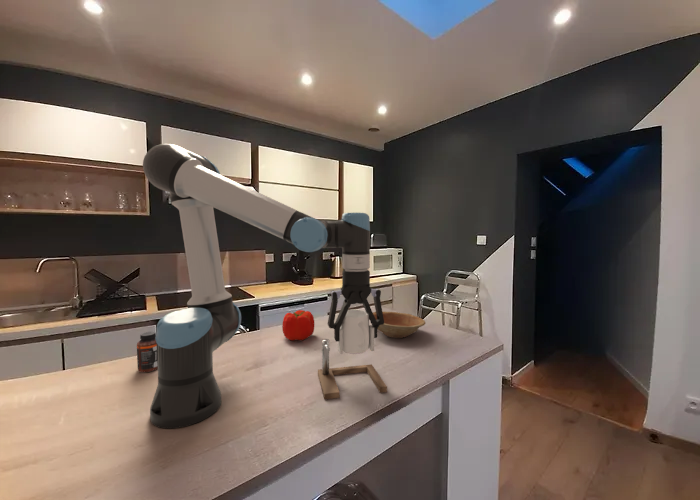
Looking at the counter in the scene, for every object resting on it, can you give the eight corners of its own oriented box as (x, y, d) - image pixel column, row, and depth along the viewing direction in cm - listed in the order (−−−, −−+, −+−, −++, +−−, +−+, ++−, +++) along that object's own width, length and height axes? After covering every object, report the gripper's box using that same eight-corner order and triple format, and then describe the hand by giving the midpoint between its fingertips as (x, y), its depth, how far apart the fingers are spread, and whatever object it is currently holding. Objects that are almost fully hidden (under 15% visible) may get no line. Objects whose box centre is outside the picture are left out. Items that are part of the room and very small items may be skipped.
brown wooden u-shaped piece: (324, 399, 78) (324, 393, 78) (317, 374, 92) (317, 369, 92) (386, 392, 82) (386, 386, 82) (371, 369, 96) (371, 364, 96)
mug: (381, 356, 81) (381, 318, 80) (352, 362, 78) (352, 322, 77) (361, 341, 92) (361, 308, 91) (335, 346, 89) (335, 311, 88)
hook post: (324, 381, 85) (324, 346, 84) (321, 372, 90) (321, 339, 90) (331, 380, 85) (331, 345, 84) (328, 371, 91) (328, 338, 90)
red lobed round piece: (298, 330, 133) (298, 306, 132) (321, 336, 125) (321, 311, 124) (274, 339, 122) (273, 313, 121) (297, 346, 114) (297, 319, 113)
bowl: (431, 346, 115) (431, 325, 115) (368, 345, 116) (368, 324, 115) (418, 326, 139) (418, 309, 138) (366, 326, 139) (366, 308, 139)
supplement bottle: (163, 368, 95) (161, 333, 95) (140, 375, 91) (139, 338, 90) (157, 363, 99) (156, 329, 99) (135, 369, 95) (134, 333, 94)
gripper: (319, 272, 77) (320, 359, 79) (397, 270, 82) (396, 352, 83) (316, 269, 85) (316, 348, 86) (387, 266, 89) (387, 342, 91)
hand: (356, 350), depth 85 cm, fingers closed on mug, 8 cm apart
